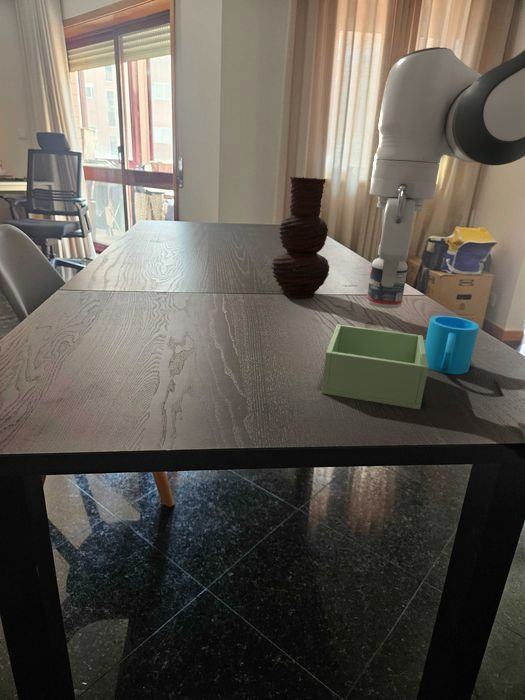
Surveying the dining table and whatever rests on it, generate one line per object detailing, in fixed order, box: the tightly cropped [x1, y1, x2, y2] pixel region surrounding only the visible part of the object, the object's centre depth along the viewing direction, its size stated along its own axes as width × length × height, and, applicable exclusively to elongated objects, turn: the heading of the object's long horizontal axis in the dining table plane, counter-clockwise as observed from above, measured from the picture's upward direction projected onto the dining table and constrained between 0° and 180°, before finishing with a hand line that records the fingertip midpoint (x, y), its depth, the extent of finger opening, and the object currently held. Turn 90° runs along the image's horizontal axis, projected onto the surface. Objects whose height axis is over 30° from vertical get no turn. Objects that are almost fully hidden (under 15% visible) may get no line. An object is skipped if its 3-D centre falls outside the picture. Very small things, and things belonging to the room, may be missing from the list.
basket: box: [321, 323, 429, 410], centre depth 76 cm, size 15×15×7 cm
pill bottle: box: [366, 244, 409, 309], centre depth 70 cm, size 5×5×9 cm
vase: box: [270, 176, 330, 300], centre depth 122 cm, size 15×15×30 cm
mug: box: [424, 315, 480, 375], centre depth 83 cm, size 12×8×8 cm
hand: (387, 281), depth 71 cm, fingers closed on pill bottle, 5 cm apart
